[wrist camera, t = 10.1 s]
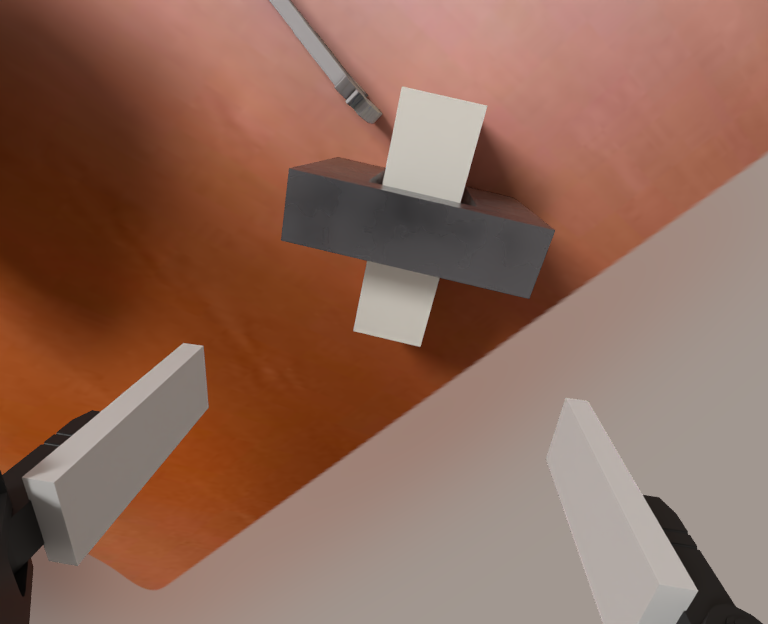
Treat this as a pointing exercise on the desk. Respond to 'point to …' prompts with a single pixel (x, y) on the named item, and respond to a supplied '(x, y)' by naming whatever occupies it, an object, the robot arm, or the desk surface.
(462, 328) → the desk surface
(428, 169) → the plug
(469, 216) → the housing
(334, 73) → the caliper
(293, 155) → the desk surface
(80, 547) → the robot arm
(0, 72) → the desk surface
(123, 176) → the desk surface
